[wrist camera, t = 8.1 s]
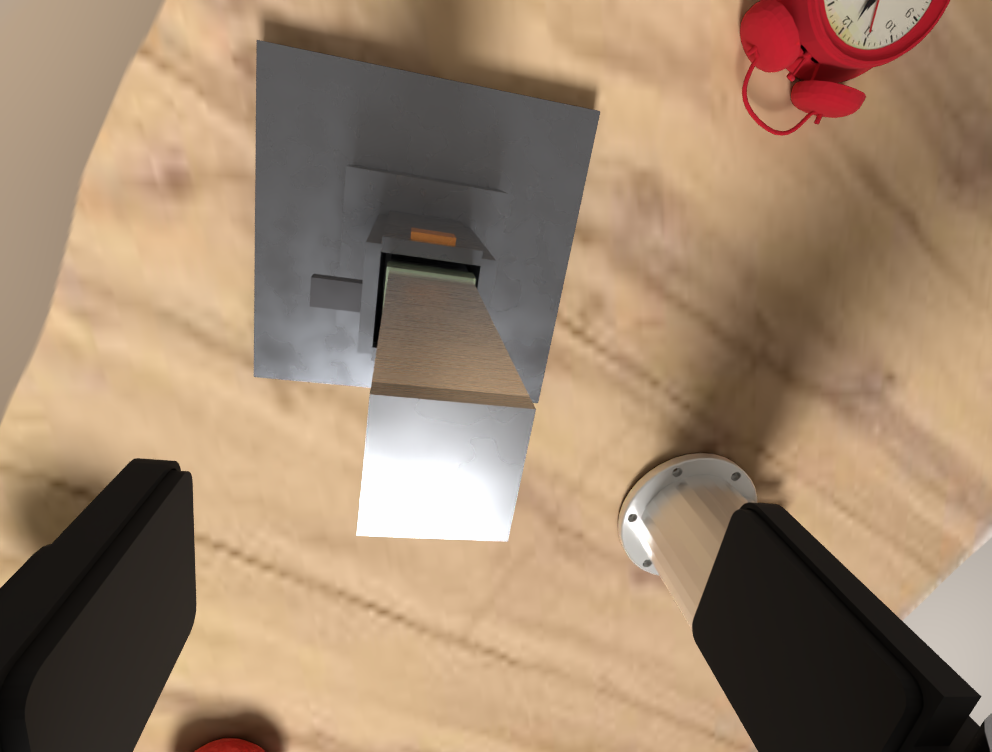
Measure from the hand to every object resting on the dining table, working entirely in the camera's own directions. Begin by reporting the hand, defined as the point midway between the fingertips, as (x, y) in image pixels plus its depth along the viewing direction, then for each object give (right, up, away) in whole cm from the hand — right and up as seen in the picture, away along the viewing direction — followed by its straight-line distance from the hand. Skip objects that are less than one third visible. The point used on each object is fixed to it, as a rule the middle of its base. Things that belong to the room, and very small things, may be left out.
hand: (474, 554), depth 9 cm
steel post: (-3, +7, +17) cm, 19 cm away
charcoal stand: (-5, +12, +27) cm, 30 cm away
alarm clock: (+21, +26, +26) cm, 43 cm away
